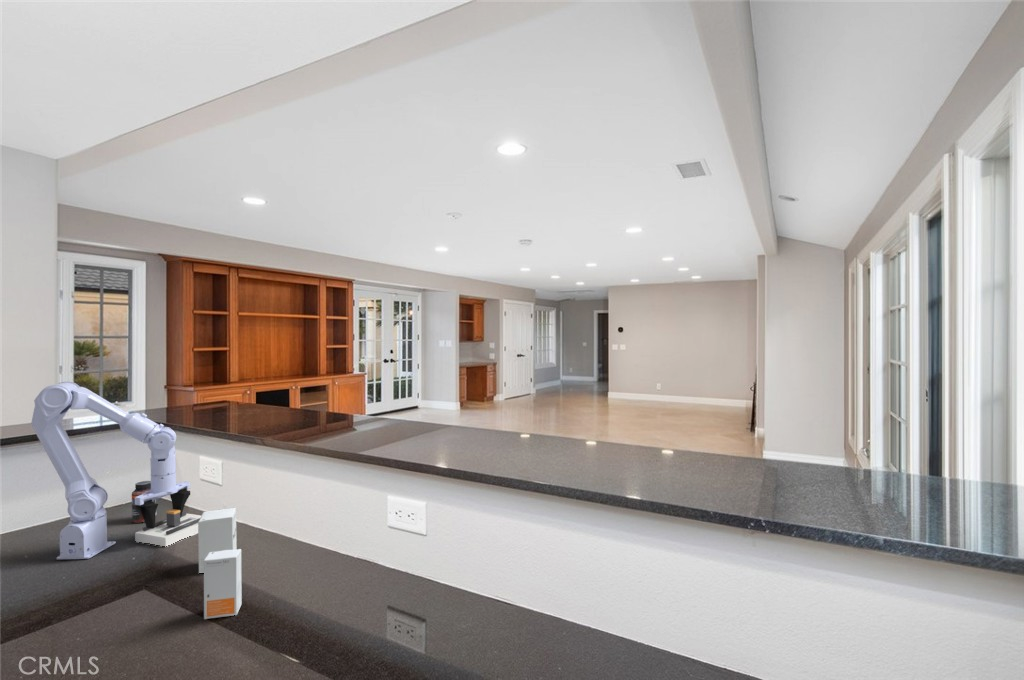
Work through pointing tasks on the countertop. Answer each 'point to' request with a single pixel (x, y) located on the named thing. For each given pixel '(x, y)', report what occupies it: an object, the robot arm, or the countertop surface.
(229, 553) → the skincare box
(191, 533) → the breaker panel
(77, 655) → the countertop surface
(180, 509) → the robot arm
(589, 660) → the countertop surface
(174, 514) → the handle
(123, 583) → the countertop surface
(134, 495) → the supplement bottle
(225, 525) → the supplement box
